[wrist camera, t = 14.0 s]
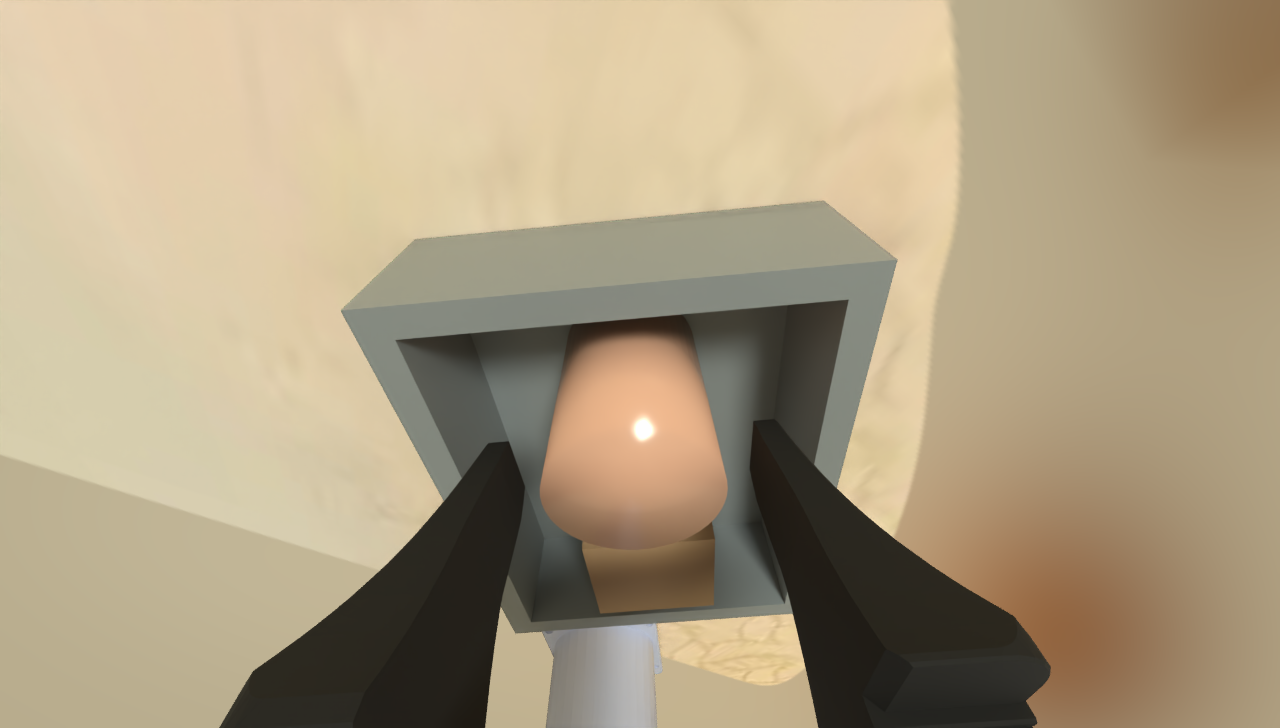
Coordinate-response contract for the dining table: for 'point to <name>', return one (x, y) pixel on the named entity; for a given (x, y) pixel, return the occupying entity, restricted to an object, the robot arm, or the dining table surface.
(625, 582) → the walnut cube
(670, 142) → the dining table surface
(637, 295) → the box
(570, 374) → the terracotta cylinder
